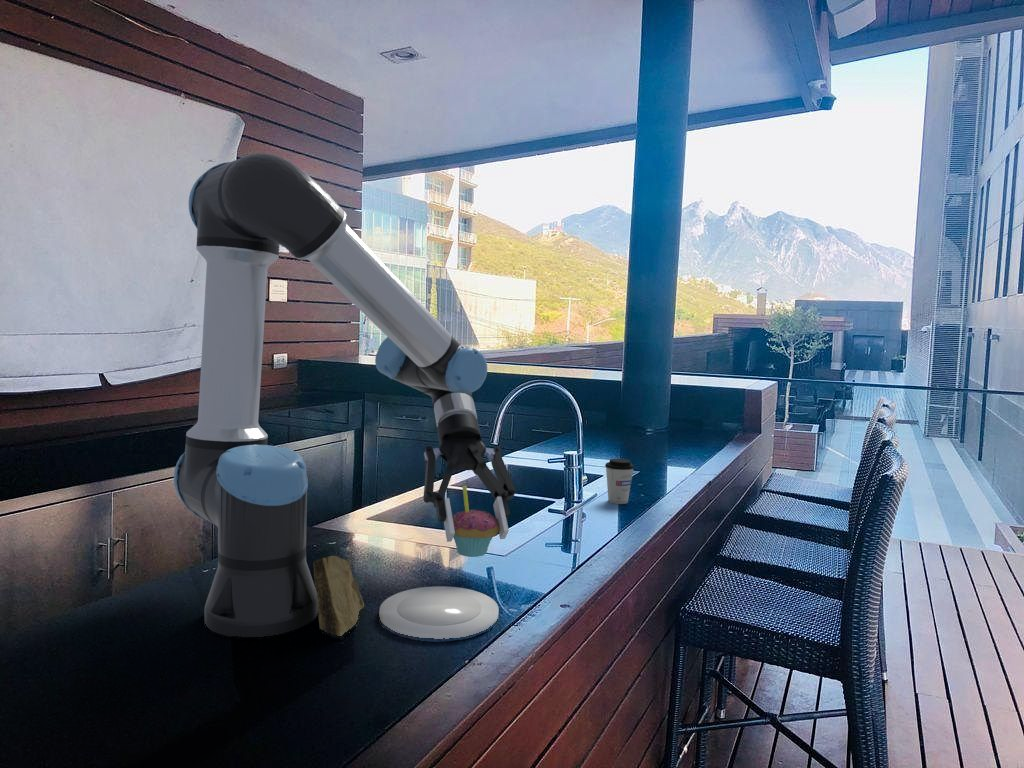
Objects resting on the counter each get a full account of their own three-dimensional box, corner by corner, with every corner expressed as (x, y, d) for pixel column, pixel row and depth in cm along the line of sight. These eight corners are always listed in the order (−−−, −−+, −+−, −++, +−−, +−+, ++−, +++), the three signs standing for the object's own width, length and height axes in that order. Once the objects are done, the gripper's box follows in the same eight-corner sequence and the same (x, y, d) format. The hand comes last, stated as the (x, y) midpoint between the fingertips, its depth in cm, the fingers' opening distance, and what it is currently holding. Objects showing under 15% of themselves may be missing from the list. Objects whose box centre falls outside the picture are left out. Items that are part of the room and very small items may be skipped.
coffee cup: (597, 499, 177) (599, 458, 177) (622, 497, 180) (624, 457, 179) (613, 506, 171) (615, 464, 170) (638, 504, 174) (640, 462, 173)
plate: (390, 648, 95) (390, 638, 94) (371, 599, 111) (371, 590, 110) (514, 634, 100) (515, 624, 100) (479, 589, 116) (479, 581, 116)
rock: (343, 583, 110) (288, 593, 102) (372, 546, 108) (318, 552, 100) (378, 644, 105) (322, 659, 97) (409, 606, 102) (355, 618, 94)
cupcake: (451, 561, 117) (454, 487, 116) (442, 545, 125) (445, 476, 124) (503, 559, 119) (507, 486, 118) (490, 544, 127) (494, 475, 126)
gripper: (507, 436, 139) (532, 544, 125) (395, 436, 132) (409, 550, 118) (517, 412, 133) (545, 522, 119) (402, 410, 126) (417, 527, 112)
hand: (478, 536), depth 119 cm, fingers closed on cupcake, 8 cm apart
